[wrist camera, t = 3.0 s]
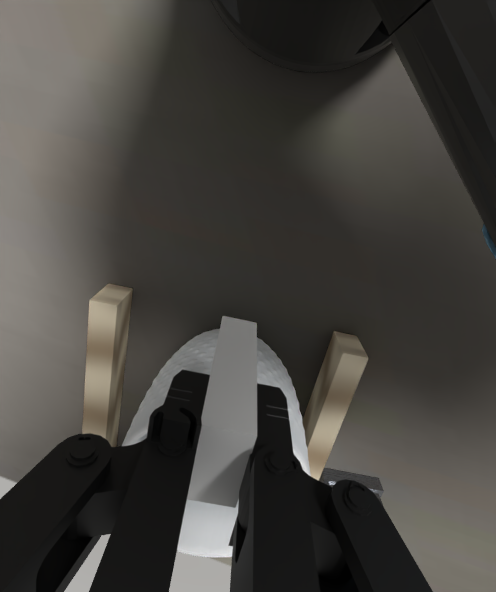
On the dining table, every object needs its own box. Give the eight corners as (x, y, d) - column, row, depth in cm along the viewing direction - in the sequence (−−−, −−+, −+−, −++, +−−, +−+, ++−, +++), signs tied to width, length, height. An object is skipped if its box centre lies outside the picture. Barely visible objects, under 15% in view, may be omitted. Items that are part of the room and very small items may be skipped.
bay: (108, 283, 29) (79, 308, 24) (356, 335, 30) (374, 369, 25) (94, 469, 37) (70, 516, 32) (291, 505, 38) (296, 555, 33)
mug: (213, 453, 35) (189, 610, 23) (119, 394, 33) (39, 534, 21) (318, 356, 31) (357, 488, 19) (219, 278, 28) (190, 372, 16)
